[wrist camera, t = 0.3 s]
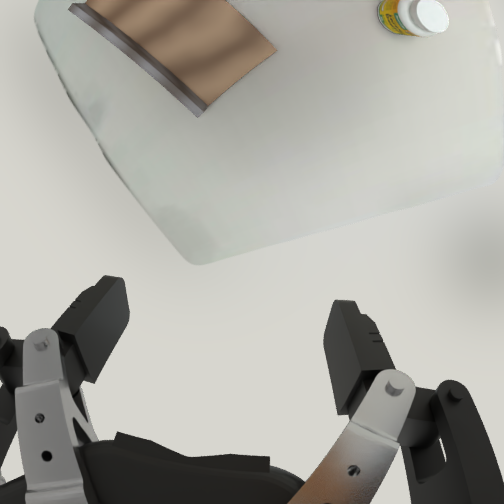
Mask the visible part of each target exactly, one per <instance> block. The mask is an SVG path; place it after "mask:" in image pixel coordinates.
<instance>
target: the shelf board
mask: <svg viewBox="0 0 504 504" xmlns="http://www.w3.org/2000/svg"><path fill="white" fill-rule="evenodd" d="M68 10H69V11H70V12H72V13H73V14H74V15H76V16H77V17H79V18H80V19H81V20H83V21H84V22H85V23H87V24H88V25H89V26H91V27H92V28H93V29H94V30H96V31H97V32H98V33H100V34H101V35H102V36H103V37H105V38H106V39H107V40H109V41H110V42H111V43H112V44H114V45H115V46H116V47H117V48H119V49H120V50H121V51H122V52H123V53H125V54H126V55H127V56H128V57H129V58H131V59H132V60H133V61H134V62H135V63H137V64H138V65H139V66H140V67H141V68H143V69H144V70H145V71H146V72H147V73H148V74H150V75H151V76H152V77H153V78H154V79H155V80H156V81H158V82H159V83H160V84H161V85H162V86H163V87H164V88H166V89H167V90H168V91H169V92H170V93H171V94H172V95H173V96H175V97H176V98H177V99H178V100H179V101H180V102H181V103H182V104H183V105H184V106H186V107H187V108H188V109H189V110H190V111H191V112H192V113H193V114H194V115H195V116H196V117H197V118H198V117H199V116H200V115H201V114H202V113H203V112H204V111H205V110H206V108H207V107H208V106H209V105H210V104H211V103H212V102H213V101H214V100H215V99H217V98H218V97H219V96H220V95H221V94H222V93H224V92H225V91H226V90H227V89H228V88H229V87H231V86H232V85H233V84H234V83H235V82H237V81H238V80H239V79H240V78H242V77H243V76H244V75H245V74H247V73H248V72H249V71H250V70H252V69H253V68H254V67H256V66H257V65H258V64H259V63H261V62H262V61H263V60H265V59H266V58H267V57H269V56H270V55H272V54H273V53H274V52H276V51H277V50H276V49H275V48H274V46H273V45H272V44H271V43H270V42H269V41H268V40H267V39H266V38H265V37H264V36H263V35H262V34H261V33H260V32H259V31H258V30H257V29H256V28H255V27H254V26H253V25H252V24H251V23H250V22H249V21H247V20H246V19H245V18H244V17H243V16H242V15H241V14H240V13H239V12H238V11H237V10H236V9H234V8H233V7H232V6H231V5H230V4H229V3H228V2H226V1H225V0H87V1H86V3H72V5H71V6H70V7H69V9H68Z"/></svg>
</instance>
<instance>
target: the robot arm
mask: <svg viewBox="0 0 504 504" xmlns="http://www.w3.org/2000/svg"><path fill="white" fill-rule="evenodd" d="M129 314H130V311H129V305H128V300H127V294H126V288H125V282H124V280H123V278H120V277H114V276H107V275H105V276H103V277H102V278H101V279H100V280H99V281H98V282H97V284H96V285H95V286H91V287H89V288H88V289H86V290H85V291H83V292H82V293H81V294H80V295H79V296H78V297H77V298H76V300H75V301H74V302H73V303H72V304H71V305H70V308H67V310H66V311H65V312H64V313H63V314H62V315H61V317H60V318H59V319H58V320H57V321H56V323H55V324H54V325H53V326H52V328H51V329H48V328H42V329H38V330H35V331H33V332H32V333H30V334H29V335H28V336H27V337H26V339H25V340H16V339H11V337H10V336H9V333H8V331H7V329H5V328H4V327H0V380H1V382H2V383H3V384H2V386H1V388H0V504H370V502H371V501H372V499H373V497H374V495H375V494H376V492H377V490H378V488H379V486H380V485H381V483H382V481H383V479H384V477H385V476H386V474H387V472H388V470H389V468H390V465H391V464H392V462H393V460H394V457H395V455H396V453H397V451H398V448H399V446H401V449H402V454H403V459H404V464H405V469H406V474H407V480H408V485H409V491H410V497H411V504H504V482H503V479H502V475H501V472H500V469H499V466H498V463H497V460H496V457H495V454H494V451H493V448H492V445H491V443H490V440H489V437H488V435H487V432H486V430H485V427H484V425H483V422H482V420H481V418H480V415H479V413H478V411H477V408H476V406H475V404H474V402H473V399H472V397H471V395H470V393H469V391H468V390H467V388H466V387H465V386H464V385H462V384H461V383H459V382H457V381H454V380H446V381H443V382H442V383H441V384H440V385H439V386H438V388H437V389H436V390H431V389H425V388H419V387H415V384H414V382H413V380H412V379H411V378H410V377H409V376H408V375H406V374H405V373H403V372H401V371H399V370H396V368H395V366H394V364H393V361H392V359H391V357H390V355H389V352H388V350H387V348H386V346H385V343H384V342H383V339H382V337H381V335H380V334H379V333H380V332H379V330H378V328H377V326H376V324H375V322H374V321H373V320H371V319H370V318H369V317H368V316H367V315H366V314H361V313H360V311H359V309H358V306H357V304H356V302H355V301H349V300H335V301H334V302H333V305H332V308H331V312H330V315H329V318H328V322H327V325H326V329H325V333H324V340H323V341H324V343H323V344H324V350H325V355H326V360H327V364H328V369H329V374H330V379H331V383H332V388H333V393H334V398H335V404H336V409H337V414H338V415H349V419H350V421H349V423H348V425H347V426H346V428H345V429H344V431H343V432H342V434H341V435H340V437H339V438H338V439H337V441H336V442H335V444H334V445H333V447H332V448H331V449H330V451H329V452H328V454H327V455H326V456H325V458H324V459H323V460H322V462H321V463H320V464H319V466H318V467H317V468H316V469H315V471H314V472H313V473H312V474H311V476H310V477H309V478H308V479H307V480H306V482H304V481H303V480H302V479H301V478H299V477H297V476H296V475H294V474H292V473H290V472H288V471H286V470H283V469H280V468H277V467H274V466H270V457H269V456H250V455H237V454H225V455H215V456H201V457H187V456H184V455H181V454H179V453H177V452H175V451H172V450H170V449H168V448H166V447H163V446H161V445H159V444H157V443H155V442H153V441H151V440H147V439H143V438H139V437H135V436H131V435H128V434H124V433H121V432H117V433H116V436H115V439H114V440H102V441H99V440H98V438H97V436H96V434H95V432H94V429H93V426H92V423H91V420H90V416H89V413H88V410H87V406H86V402H85V398H84V395H83V391H82V388H81V386H80V385H81V383H82V382H83V380H84V381H87V382H90V383H94V384H95V382H96V380H97V378H98V376H99V374H100V372H101V370H102V368H103V367H104V365H105V363H106V361H107V359H108V358H109V356H110V354H111V352H112V351H113V349H114V347H115V345H116V344H117V342H118V340H119V338H120V337H121V335H122V333H123V331H124V330H125V328H126V326H127V324H128V322H129ZM17 430H18V438H19V445H20V452H21V458H22V463H23V469H24V473H25V475H22V476H20V477H18V478H16V479H14V480H11V481H9V482H7V483H6V481H5V479H4V478H3V477H2V476H1V466H2V464H3V461H4V459H5V456H6V454H7V451H8V449H9V447H10V445H11V442H12V440H13V438H14V436H15V434H16V431H17ZM440 438H441V440H442V443H443V447H444V450H445V454H446V462H445V458H444V454H443V451H442V448H441V444H440V441H439V439H440Z"/></svg>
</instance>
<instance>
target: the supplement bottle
mask: <svg viewBox="0 0 504 504" xmlns="http://www.w3.org/2000/svg"><path fill="white" fill-rule="evenodd" d="M378 17H379V20H380V22H381V23H382V25H383V26H384V27H385V28H386V29H388V30H389V31H391V32H393V33H396V34H401V35H411V36H419V37H430V36H433V35H435V34H436V33H441V32H443V31H445V30H446V29H447V27H448V24H449V18H448V14H447V12H446V10H445V9H444V7H443V6H442V5H441V4H440V3H439V2H438V1H436V0H383V1H382V2H381V3H380V4H379V6H378Z"/></svg>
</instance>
